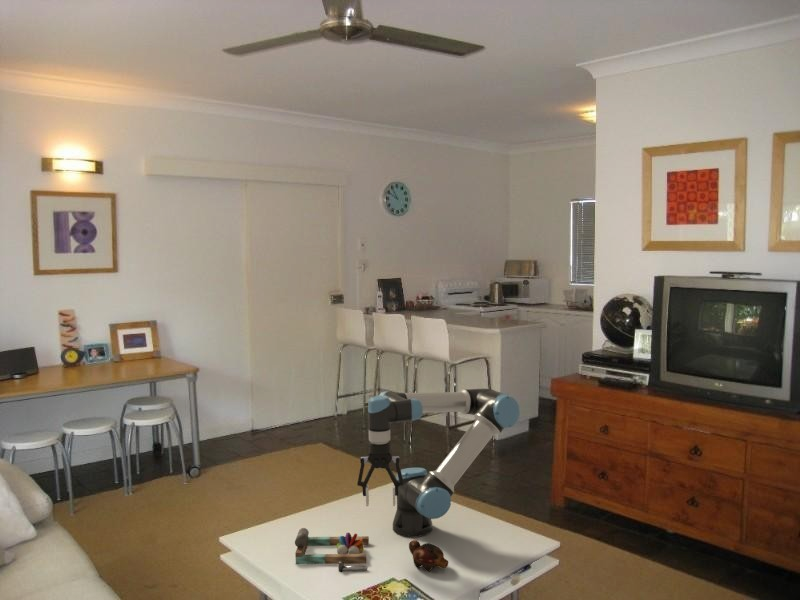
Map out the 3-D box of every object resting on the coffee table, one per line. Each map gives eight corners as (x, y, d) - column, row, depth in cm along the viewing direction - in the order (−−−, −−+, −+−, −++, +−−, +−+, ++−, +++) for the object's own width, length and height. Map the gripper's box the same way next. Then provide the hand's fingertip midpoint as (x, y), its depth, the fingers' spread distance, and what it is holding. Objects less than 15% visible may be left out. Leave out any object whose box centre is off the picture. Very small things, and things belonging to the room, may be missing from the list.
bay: (368, 543, 243) (368, 522, 243) (366, 563, 227) (365, 541, 227) (300, 543, 243) (300, 523, 243) (293, 564, 227) (292, 542, 227)
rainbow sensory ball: (360, 559, 230) (360, 539, 230) (333, 557, 232) (333, 537, 232) (366, 548, 239) (366, 529, 238) (340, 546, 241) (340, 527, 240)
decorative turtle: (414, 556, 232) (415, 534, 231) (453, 569, 224) (455, 546, 224) (400, 566, 224) (401, 543, 223) (440, 580, 216) (442, 556, 216)
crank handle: (367, 569, 223) (367, 560, 223) (367, 571, 221) (367, 563, 221) (338, 569, 223) (338, 560, 223) (338, 572, 221) (338, 563, 221)
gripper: (410, 437, 236) (411, 500, 237) (349, 438, 236) (351, 500, 238) (410, 443, 228) (411, 508, 230) (347, 444, 229) (349, 509, 230)
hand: (380, 504), depth 234 cm, fingers open, 9 cm apart
